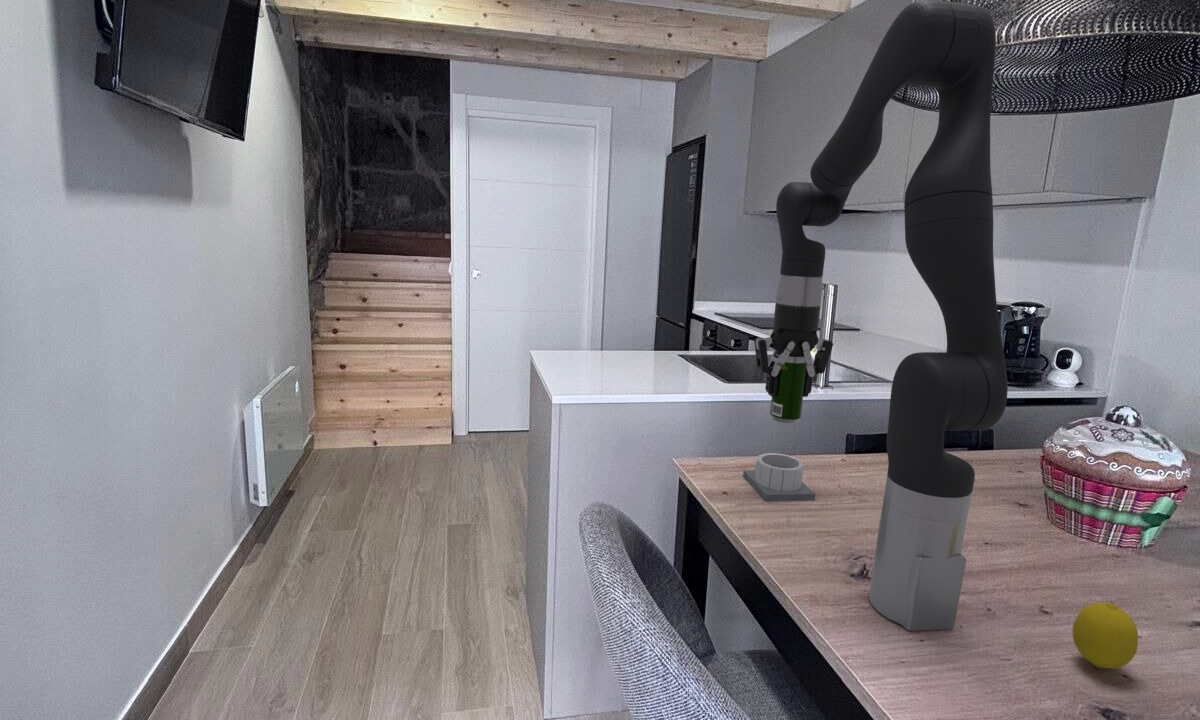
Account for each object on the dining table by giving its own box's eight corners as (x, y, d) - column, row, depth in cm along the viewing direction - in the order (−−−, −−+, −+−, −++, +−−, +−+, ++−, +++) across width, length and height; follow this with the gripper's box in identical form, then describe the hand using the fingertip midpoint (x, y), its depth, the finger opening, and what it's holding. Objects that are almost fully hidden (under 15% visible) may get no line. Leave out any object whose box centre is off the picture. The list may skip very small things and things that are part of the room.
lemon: (1058, 646, 72) (1072, 585, 70) (1113, 657, 70) (1129, 594, 69) (1079, 677, 67) (1094, 612, 65) (1139, 690, 65) (1157, 624, 64)
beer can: (790, 425, 107) (798, 358, 105) (763, 418, 111) (770, 353, 108) (805, 420, 111) (813, 355, 108) (779, 412, 115) (786, 350, 112)
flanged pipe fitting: (814, 500, 109) (817, 472, 108) (765, 501, 108) (768, 473, 107) (788, 475, 120) (790, 450, 119) (743, 476, 118) (745, 450, 117)
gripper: (767, 303, 102) (757, 401, 105) (848, 305, 104) (835, 401, 107) (750, 298, 109) (742, 389, 113) (826, 300, 111) (815, 390, 115)
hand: (787, 395), depth 110 cm, fingers closed on beer can, 5 cm apart
